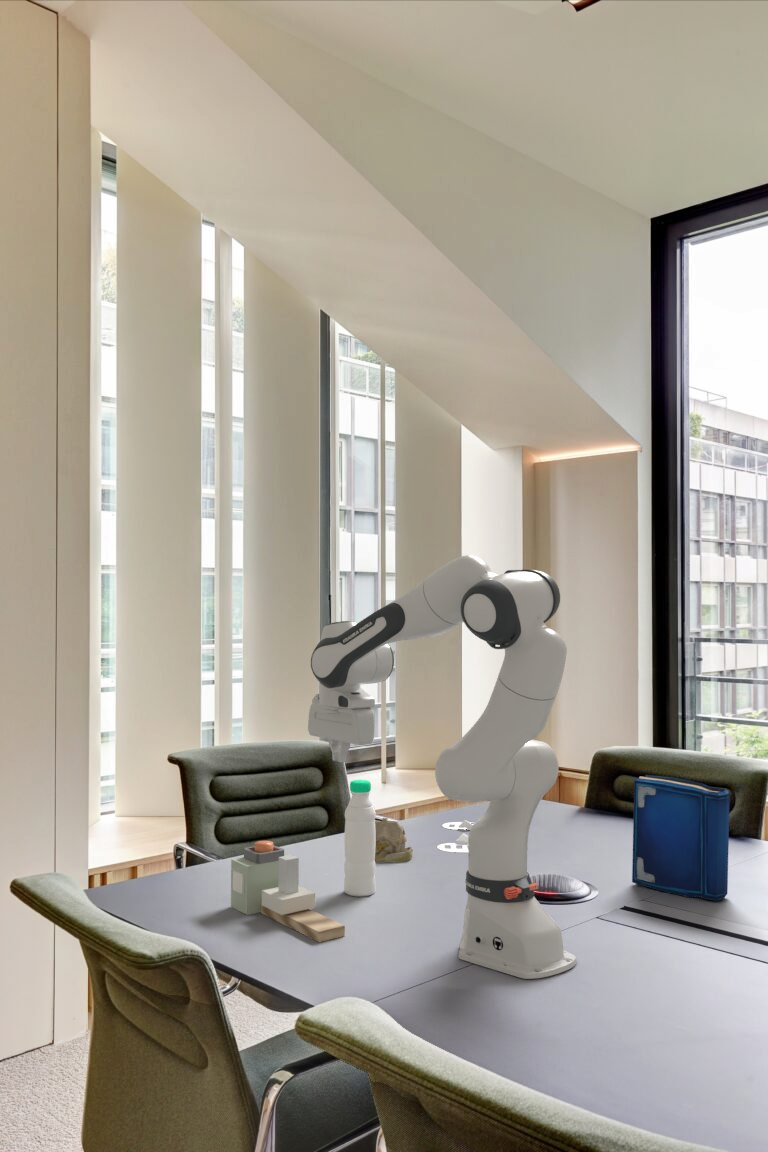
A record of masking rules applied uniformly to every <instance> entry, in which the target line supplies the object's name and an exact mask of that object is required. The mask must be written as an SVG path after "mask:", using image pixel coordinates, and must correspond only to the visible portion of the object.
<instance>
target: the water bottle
mask: <svg viewBox="0 0 768 1152" xmlns="http://www.w3.org/2000/svg"><path fill="white" fill-rule="evenodd" d="M349 783H350V784H349V790H350V794H351V798H350V800H349V802H348V805H347V806H346V808H345V811H344V818H345V822H344V859H345V861H344V865H343V866H344V870H343V871H344V883H343V884H344V885H343V887H344V888H343V889H344V890H343V891H344V893H346V894H347V895H348V896H352V897H358V898H359V897H367V896H372V895H373V894H374V893H375V892H376V877H375V875H376V862H375V847H376V829H375V821H376V815H377V813H376V810H375V808H374V806H373V802H372V800H371V798H370V796H369V795H370V793H371V789H372V785H371V781H369V780H366V779H356V780H355V779H354V780H351V781H350V782H349Z"/></svg>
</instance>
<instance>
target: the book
mask: <svg viewBox="0 0 768 1152" xmlns="http://www.w3.org/2000/svg"><path fill="white" fill-rule="evenodd" d="M633 780H634V781H633V783H634V784H633V785H634V786H633V788H634V789H633V821H632V822H633V828H632V829H633V831H632V867H631V868H632V870H631V878H632V879H631V882H632V883H633V884H636V885H640V886H642V887H643V886H644V887H647V888H650V889H652V890H657V891H659V892H664V893H667V894H673V895H677V896H682V897H685V896H686V898H702V899H705V900H709V901H712V902H713V901H714V902H717V901H721V900H724V899H725V898H726V896H727V895H728V882H729V881H728V879H729V876H728V875H729V872H728V871H729V841H730V840H729V839H730V838H729V837H730V836H729V834H730V833H729V832H730V830H729V829H730V798H731V797H730V795H731V794H730V791H729V790H728V789H726V788H725V789H724V788H720V787H719V788H718V787H713V786H709V785H707V784H705V783H702V782H696V781H692V780H687V779H681V778H677V777H671V776H670V777H669V776H660V775H652V774H651V775H649V774H645V776H639V778H638V777H634V779H633Z"/></svg>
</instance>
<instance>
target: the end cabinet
mask: <svg viewBox="0 0 768 1152" xmlns="http://www.w3.org/2000/svg"><path fill="white" fill-rule="evenodd" d="M288 855H290V854H289V853H286V852H285V848H282V847H280V846H277V845H274V844H273V851H271V852H265V853H257V852H255V845H254V846H247V847H244V848H243V857H237V858H231V859H230V861H231V862H230V870H231V871H230V907H231V908H233V909H235V910H236V911H239V912H241V913H243V914H245V915H247V916H249V915H254V914H257V913H261V903H262V890H266V889H271V888H276V887H278V875H279V857H282V856H288Z"/></svg>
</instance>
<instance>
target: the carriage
mask: <svg viewBox="0 0 768 1152" xmlns="http://www.w3.org/2000/svg"><path fill="white" fill-rule="evenodd" d="M299 863H300V861H299V857H298V856H295V855H292V854H289V855H288V856H282V857H279V875H278V887H276V888H271V889H266V890H262V906H264V907H266V908H269V909H271V910H273V911H275V912H277V913H279V914H281V915H284V914H289V913H293V912H298V911H302V910H307V909H310V910H312V909H315V908H316V892H314V891H312V890H309V889H308V888H305V887H303V886H301V885H299V878H300V877H299V876H300V875H299V874H300V873H299V870H300V869H299V868H300V867H299Z"/></svg>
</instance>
